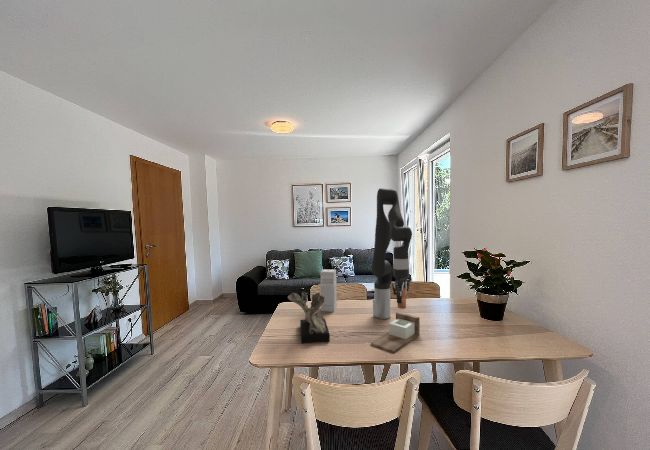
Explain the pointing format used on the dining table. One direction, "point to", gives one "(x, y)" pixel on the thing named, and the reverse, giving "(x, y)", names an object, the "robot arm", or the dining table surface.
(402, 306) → the dowel
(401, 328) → the hole block
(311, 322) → the coral
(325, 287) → the box
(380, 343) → the walnut angle bracket
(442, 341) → the dining table surface
